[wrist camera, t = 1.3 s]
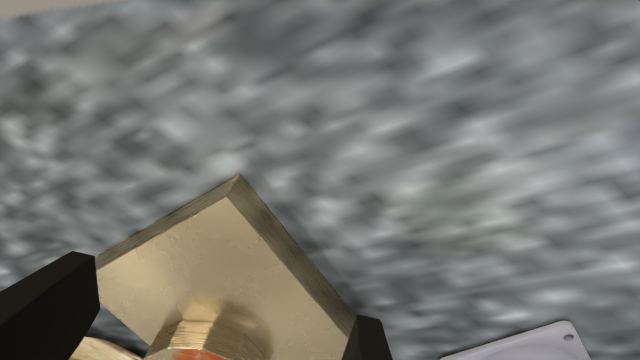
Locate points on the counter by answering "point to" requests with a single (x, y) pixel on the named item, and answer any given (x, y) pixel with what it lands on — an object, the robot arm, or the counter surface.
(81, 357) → the pie
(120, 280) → the oven controls
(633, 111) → the counter surface
